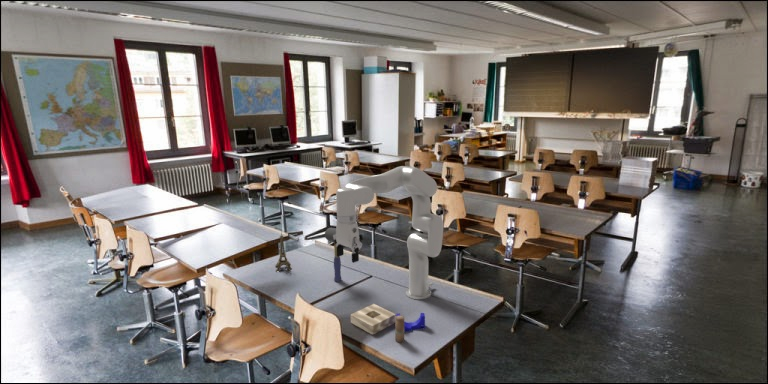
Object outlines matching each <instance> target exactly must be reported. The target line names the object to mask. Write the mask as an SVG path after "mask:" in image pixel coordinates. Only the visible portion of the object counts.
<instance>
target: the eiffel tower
mask: <svg viewBox="0 0 768 384" xmlns="http://www.w3.org/2000/svg"><path fill="white" fill-rule="evenodd" d="M280 234H281V235H279V238H280V246H279V247H280V249H279V250H280V252H279V255H278V256H279V258H278V259H277V260H278V261H277V262H276V264H275V265H274V268H276V269H275V273H278V272H277V271H279V272H280V270H281V267H282V266H286V267H287V269H288V271H292V270H293V268H292V267H291V265H292V264H291V262H290V261H289V260H288V258H287V253H286V250H285V245H284V235H283V234H282V231H280Z"/></svg>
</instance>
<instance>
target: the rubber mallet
mask: <svg viewBox="0 0 768 384" xmlns="http://www.w3.org/2000/svg"><path fill="white" fill-rule="evenodd" d="M334 234H336V228H335V227H328V228H327V229H326V230H325V231H324V238H325V239H326V240H327V241H328V242H329V241H330V242H331V243H334V248H333V249H334V258H333V269H334V277H333V281H334V282H335V283H340V282H341V281H342V276H341V275H342V273H341V270H342V269H341V266H342V264H341V263H342V262H341V256H339V257H337V247H336V246H335V245H336V244H335V242H334V238H333V235H334Z"/></svg>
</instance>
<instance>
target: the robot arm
mask: <svg viewBox="0 0 768 384" xmlns="http://www.w3.org/2000/svg"><path fill="white" fill-rule="evenodd" d="M402 186H403V187H404V189H405V191H406V192H407V193H408V194H409V195H410V197H411V199H412V216H411V226H412V228H413V229H414V230H416V231H420V232H413V233H411V234H410V235H409V236H408V237H407V240H406V246H407V251H408V274H409V275H408V288H407V289H406V291H405V295H406V297H408V298H410V299H413V300H425V299H429V298H430V297H431V296H432V291H431V290H430V288H431V287H434V282H433V281H432V282H429V258H428V257H430V258H436V257H438V256H439V255H440V253H441V251H442V247H443V236H444V221H443V218H442V217H441V216H440V215H438V214H435V213H432V212H431V207H432V205H431V203H432V201H431V199H430V197H433V196H435V194H436V193H437V191H438V185H437V182H436V181H435V179H434V178H433V177H432V176H430V175H429V174H427V173H426V172H424V171H423V170H422V169H420V168H417V167H413V166H407V165H406V166H405V165H401V166H397V167H394V168H393V169H390V170H388V171H386V172H383V173H381V174H377V175H370V176H365V177H362V178H358V179H355V180H353V181H351V182H349V183H347V184H346V185H345V186H344V187H340V188H338V189H337V190H336V193H335V194H336V220H337V221H336V225H335V227H336V228H335V229H336V234H334V235H333V238H334V242H335V244H336V245H335V246H336V247H337V257H339V256H340V257H342V256H344V247H346V248H349V249H350V250H351V263H353V264H354V263H357V262H359V261H360V257H359V256H360V253H359V252H360V251H361V250H362V246H363V243H362V242H361V241H360V232H359V226H358V225H359V224H358V222H357V219H356V218H357V217H356V216H357V215H356V206H360V205H361V206H364V205H369V204H370V203H372V202H373V200H374V198H375V194H387V193H388V194H389V193H390V192H392V191H394V190H396V189H398V188H400V187H402ZM421 232H423V233H421ZM334 242H333V243H334Z"/></svg>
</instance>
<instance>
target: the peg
mask: <svg viewBox="0 0 768 384" xmlns="http://www.w3.org/2000/svg"><path fill="white" fill-rule="evenodd" d="M404 321H405V317H404V316H403V315H400V316H396V317H395V323H394V324H395V330H394V331H395V337H394V338H395V342H396V343H398V344H402V343H404V342H405V331H404Z"/></svg>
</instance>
